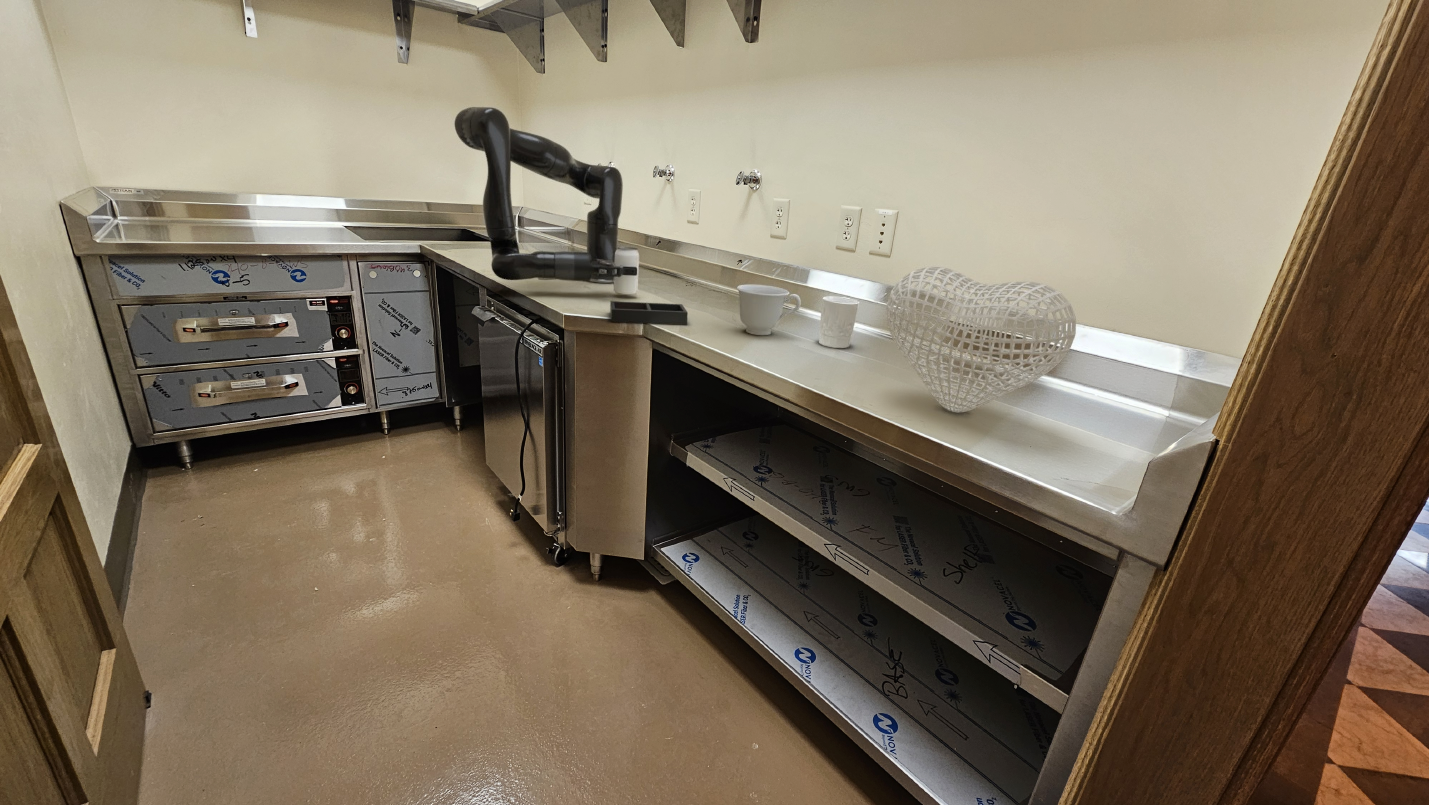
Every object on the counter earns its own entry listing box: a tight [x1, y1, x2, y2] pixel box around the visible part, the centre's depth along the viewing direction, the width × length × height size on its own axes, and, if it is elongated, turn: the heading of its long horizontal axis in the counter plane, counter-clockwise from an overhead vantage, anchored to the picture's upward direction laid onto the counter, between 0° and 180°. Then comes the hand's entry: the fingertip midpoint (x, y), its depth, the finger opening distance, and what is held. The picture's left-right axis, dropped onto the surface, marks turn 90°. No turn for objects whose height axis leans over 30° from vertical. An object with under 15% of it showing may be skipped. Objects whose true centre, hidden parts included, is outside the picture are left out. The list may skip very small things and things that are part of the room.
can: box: [613, 246, 640, 296], centre depth 165 cm, size 6×6×12 cm
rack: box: [609, 300, 689, 326], centre depth 144 cm, size 9×17×3 cm, turn 101°
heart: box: [885, 266, 1077, 413], centre depth 96 cm, size 28×16×22 cm, turn 46°
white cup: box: [818, 295, 860, 349], centre depth 134 cm, size 8×8×10 cm
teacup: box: [736, 283, 802, 336], centre depth 138 cm, size 12×15×10 cm
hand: (634, 269), depth 165 cm, fingers closed on can, 6 cm apart
